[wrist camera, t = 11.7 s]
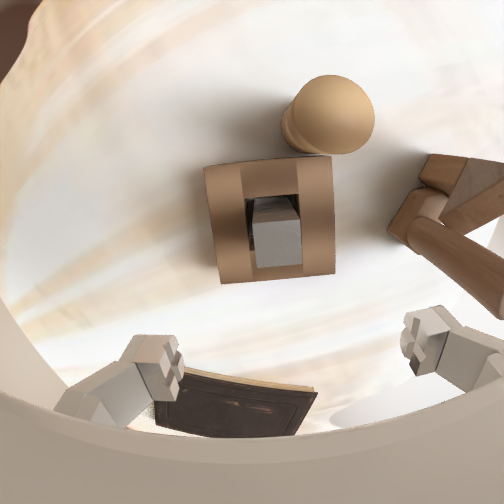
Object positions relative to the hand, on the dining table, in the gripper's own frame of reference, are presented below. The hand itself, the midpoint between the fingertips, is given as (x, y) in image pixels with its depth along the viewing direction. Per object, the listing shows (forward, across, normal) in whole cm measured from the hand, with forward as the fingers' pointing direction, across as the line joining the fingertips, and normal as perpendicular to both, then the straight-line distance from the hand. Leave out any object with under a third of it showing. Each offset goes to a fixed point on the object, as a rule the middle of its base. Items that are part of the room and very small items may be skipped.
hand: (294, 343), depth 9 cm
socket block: (+21, 0, 0) cm, 21 cm away
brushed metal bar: (+21, 0, 0) cm, 21 cm away
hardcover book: (+21, +9, +30) cm, 38 cm away
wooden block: (+21, -17, 0) cm, 27 cm away
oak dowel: (+21, -4, -8) cm, 23 cm away
